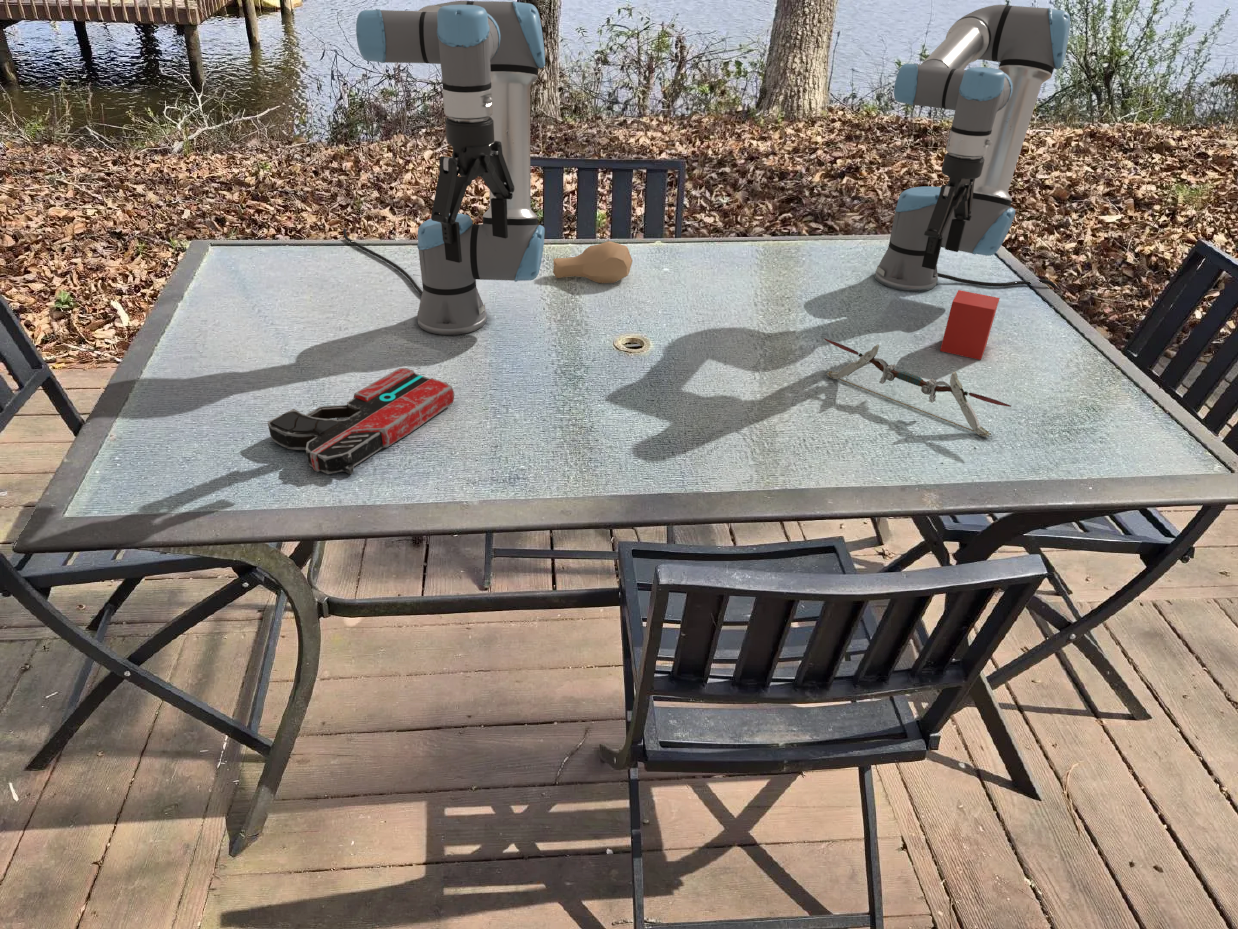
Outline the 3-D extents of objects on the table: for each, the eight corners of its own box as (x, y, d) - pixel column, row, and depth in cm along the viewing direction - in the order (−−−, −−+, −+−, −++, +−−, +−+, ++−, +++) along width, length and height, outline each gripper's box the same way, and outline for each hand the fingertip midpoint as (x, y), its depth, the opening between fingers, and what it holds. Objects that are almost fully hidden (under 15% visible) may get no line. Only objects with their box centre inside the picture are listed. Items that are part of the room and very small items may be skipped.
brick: (980, 360, 188) (994, 309, 181) (939, 351, 191) (952, 301, 184) (985, 347, 193) (999, 297, 187) (946, 338, 196) (958, 289, 190)
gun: (253, 426, 149) (335, 462, 141) (381, 354, 171) (459, 383, 163) (258, 448, 152) (340, 485, 144) (384, 375, 174) (460, 403, 166)
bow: (1002, 440, 160) (1018, 392, 155) (998, 443, 159) (1013, 395, 153) (820, 369, 181) (828, 325, 176) (815, 372, 180) (823, 328, 175)
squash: (634, 287, 216) (630, 255, 210) (554, 294, 218) (548, 263, 212) (634, 264, 224) (630, 232, 218) (556, 271, 226) (551, 240, 220)
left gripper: (439, 136, 126) (451, 276, 138) (532, 105, 145) (535, 231, 157) (398, 129, 129) (413, 267, 141) (494, 100, 148) (500, 223, 160)
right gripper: (963, 170, 161) (936, 280, 173) (1004, 146, 178) (977, 247, 190) (923, 163, 165) (900, 270, 177) (967, 139, 182) (943, 239, 194)
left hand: (477, 248), depth 149 cm, fingers open, 13 cm apart
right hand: (940, 258), depth 183 cm, fingers open, 13 cm apart
